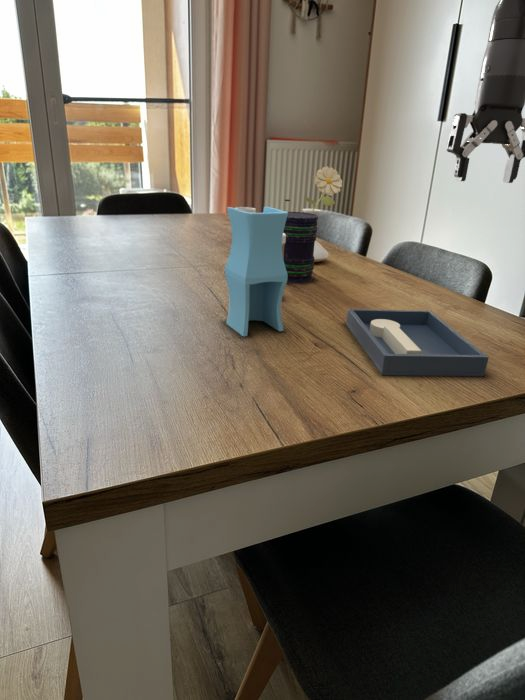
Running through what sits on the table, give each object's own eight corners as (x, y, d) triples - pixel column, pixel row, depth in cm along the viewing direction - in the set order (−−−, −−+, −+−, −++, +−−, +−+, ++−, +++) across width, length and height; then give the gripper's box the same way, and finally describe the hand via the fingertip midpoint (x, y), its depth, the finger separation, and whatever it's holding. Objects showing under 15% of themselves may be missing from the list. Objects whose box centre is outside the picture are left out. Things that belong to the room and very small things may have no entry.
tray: (427, 326, 96) (430, 310, 94) (484, 376, 76) (488, 357, 75) (346, 324, 94) (347, 308, 93) (381, 375, 74) (384, 355, 73)
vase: (262, 317, 96) (268, 206, 88) (283, 330, 89) (292, 212, 82) (223, 321, 92) (226, 206, 84) (243, 336, 86) (248, 213, 78)
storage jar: (319, 278, 125) (327, 201, 118) (300, 285, 118) (306, 204, 111) (285, 270, 130) (290, 197, 123) (263, 278, 123) (268, 200, 116)
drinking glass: (229, 238, 167) (230, 207, 164) (245, 237, 172) (246, 206, 168) (242, 242, 163) (244, 210, 159) (258, 240, 167) (260, 209, 163)
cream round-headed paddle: (366, 328, 91) (367, 315, 90) (393, 328, 92) (395, 315, 91) (395, 365, 76) (398, 350, 75) (427, 365, 77) (430, 350, 76)
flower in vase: (288, 264, 138) (296, 165, 128) (285, 255, 148) (292, 163, 139) (337, 266, 138) (347, 168, 129) (330, 257, 149) (339, 166, 139)
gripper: (533, 80, 86) (511, 181, 92) (452, 75, 85) (435, 178, 91) (561, 75, 79) (535, 185, 86) (473, 69, 78) (453, 181, 84)
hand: (483, 181), depth 88 cm, fingers open, 8 cm apart
